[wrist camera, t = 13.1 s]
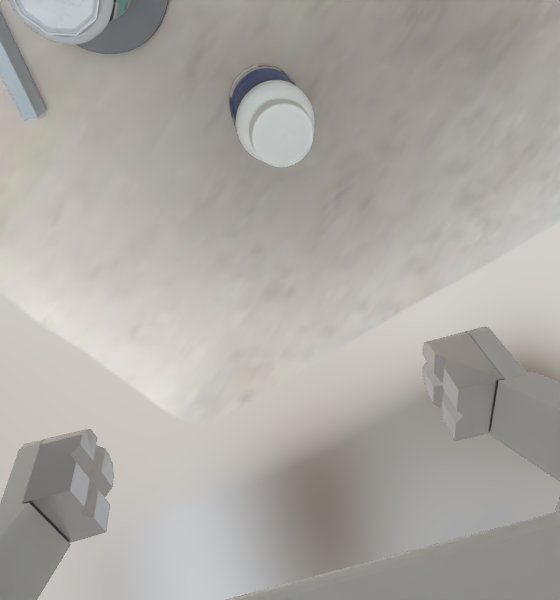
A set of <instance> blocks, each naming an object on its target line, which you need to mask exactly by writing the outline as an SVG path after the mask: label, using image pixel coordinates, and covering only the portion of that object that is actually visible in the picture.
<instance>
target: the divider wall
mask: <svg viewBox="0 0 560 600" xmlns="http://www.w3.org/2000/svg"><path fill="white" fill-rule="evenodd" d="M0 75H1V77H2V79H3V81H4V83H5V85H6V87H7V89H8V91H9V93H10V95H11V97H12V99H13V101H14V103H15V105H16V107H17V108H18V110H19V112H20V114H21V116H22V118H23V120H24V121H25V120H29V119H34V118H38V117H39V116H40V115H41V114H42V113H43V112H44V110H45V109H46V107H45V105H44V103H43V101H42V98H41V96H40V94H39V92H38V90H37V88H36V86H35V84H34V82H33V79H32V77H31V75H30V73H29V71H28V69H27V67H26V65H25V63H24V60H23V58H22V56H21V54H20V52H19V50H18V48H17V46H16V43H15V41H14V39H13V37H12V35H11V33H10V31H9V29H8V27H7V24H6V22H5V20H4V18H3V16H2V14H1V12H0Z"/></svg>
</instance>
